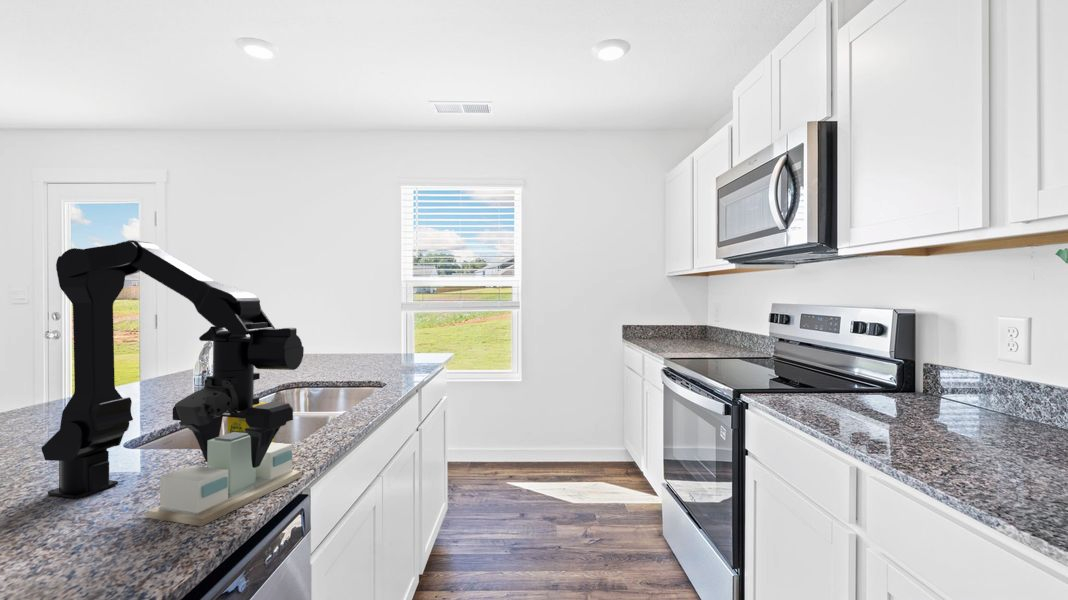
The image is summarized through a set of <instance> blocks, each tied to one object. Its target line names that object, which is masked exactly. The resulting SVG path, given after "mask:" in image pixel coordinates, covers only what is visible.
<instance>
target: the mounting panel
mask: <svg viewBox="0 0 1068 600" xmlns="http://www.w3.org/2000/svg"><path fill="white" fill-rule="evenodd" d="M302 477H303V470H298V469H293V471H292V472H290V473H288V474H286V475H284V476H282V477H279V478H277V479H275V480H273V481H271V482H269V483H267V484H264V485H262V486H260V487H258V488H256V489H254V490H252V491H250V492H247V493H245V494H243V495H241V496H239V497H237V498H235V499H232V500H230V501H228V502H226V503H224V504H222V505H220V506H218V507H215V508H213V509H211V510H209V511H207V512H205V513H203V514H200V515H198V516H192V515H185V514H178V513H172V512H165V511H158V508H159V507H160V505H157V506H155V507H153V508H150V509H148V510H147V511H146V518H147V519H153V520H159V521H160V520H161V521H168V522H173V523H178V524H186V525H191V526H192V525H193V526H199V527H203V526H205V525H208V524H210V523H211V522H214V521H215V520H218V519H220V518H222V517H223V516H225V515H228V514H230V513H231V512H233V511H235V510H237V509H239V508H242V507H243V506H245V505H246V506H247V504H250V503H252V502H253V501H256V500H258V499H259V498H262V497H264V496H265V495H268V494H270V493H271V492H274V491H275V490H278V489H280V488H281V487H283V486H286V485H288V484H290V483H292V482H294V481H296V480H298V479H300V478H302Z"/></svg>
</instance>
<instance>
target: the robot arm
mask: <svg viewBox="0 0 1068 600" xmlns="http://www.w3.org/2000/svg"><path fill="white" fill-rule="evenodd" d="M55 268H56V275H57V279H58V285H59V288H60V290H61V291H62V292H63V293H64V295H65V296H66V297H67V299H68V300H69V301H70V302H71V303H72V326H73V362H74V363H73V367H74V368H73V369H74V371H73V372H74V373H73V376H74V393H73V395H72V396H71V397H70V399H69V401H68V402H67V404H66V405H65V407H64V408H63V410H62V412H61V419H60V426H59V427H60V428H59V430H58V431H57V432H56V433H54V435H53V436H52V437H51V438H50V439H48V440H47V442H45V443H44V445H42V446H41V451H42V455H43V458H44V460H45V461H51V462H52V461H53V462H54V461H56V462H58V461H59V462H58V487H57V488H54V489H50V490H48V491H47V495H49V496H56V497H61V498H62V497H63V498H67V499H69V498H70V499H80V498H82V497H85V496H89V495H91V494H93V493H97V492H99V491H102V490H105V489H108V488H112V487H114V486H116V485H119V481H118V480H112V479H110V460H109V456H110V455H109V453H110V451H109V450H108V449H110V448H114V447H118V446H120V445H121V442H122V440H123V437H124V434H125V433H126V432H127V431H128V430H129V427H130V422H133V420H134V418H133V416H132V402H133V401H132V398H131V397H130V396H127V397H123V396H122V395H121V394H120V393H119V392H118V390H117V389H116V383H115V380H116V379H115V348H114V347H115V344H114V343H115V342H114V341H115V339H114V335H115V333H114V332H115V331H114V303H115V301H116V300H117V298H118V297H119V296H120V294H121V292H122V291H123V290H124V285H125V281H126V277H127V276H132V275H134V274H137V273H140V272H142V273H143V274H145V275H146V276H148V277H150V278H151V279H153V280H155V281H157V282H158V283H160V284H162V285H164V286H165V287H167V288H169V289H170V290H171V291H174V292H175V293H177V294H179V295H180V296H182V297H184V298H186V299H187V300H189V301H190V303H192V304H193V305H194V307H195V310H196V312H197V313H198V314H199V315H200V316H201V317H202V318H204V319H205V320H206V321H207V322H209V323H210V324H211V325H212V326H210V327H209V329H208V330H207V331H206V332H203V334H202V335H200V336H199V337H198V339H199V341H200V342H212V375H209V376H206V377H205V379H204V385H203V388H202V389H200V390H196V391H194V392H192V393H191V394H190V395H187V396H186V397H184V398H183V399H181V400H179V401H177V402H176V403H175V404H174V405H173V407H172V421H179V422H178V424H179V425H180V426H184V427H185V428H187V429H189V430H190V431H191V432H193V433H192V434H193V435H194V437H195V438H196V441H197V443H198V445H199V446H198V447H199V448H200V450H201V454H202V455H203V457H204V460H205V462H206V463H207V447H208V440H211V439H214V438H216V437H219V436H220V435H221V429H222V424H223V419H224V417H226V418H228V417H234V418H245V422H246V423H247V424H248V426H249V428H246V429H244V430H245V431H246V432H247V433H248V434H249V435H250V437H251V460H252V467H253V468H256V467H258V466H260V464H261V462H262V460H263V458H264V456H265V454H266V452H267V450H268V448H269V446H270V444H271V442H272V440H273V438H274V439H275V437H276V435H277V434H278V432H279V430H280V428H281V427H284V426H286V425H287V422H291V421H293V420H294V409H293V406H292V405H291V404H290V403H288V402H287V403H286V402H278V401H277V402H275V401H270V402H265V403H266V404H262V405H258V406H255V407H253V405H256V404H259V402H260V397H256V396H254V394H255V393H254V392H255V391H254V387H255V385H254V384H255V381H258V380H260V379H261V378H260V372H254V371H255V369H254V368H256V369H257V370H281V371H283V370H284V371H286V370H287V371H295V370H296V369H298V368H299V367H300V366H301V364H302V361H303V358H304V354H305V353H304V352H305V351H304V350H305V349H304V346H303V343H302V340H301V338H300V336H299V335H297V332H298V331H297V328H296V327H283V328H275V327H274V325H273V323H272V322H271V321H270V319H269V318H268V316H267V315H266V313H265V312H264V311H263V309H262V306H261V301H260V298H259V297H257V296H256V295H255V294H254V293H252V292H249V291H247V290H244V289H240V288H238V287H235V286H231V285H227V284H226V283H225V284H224V283H221V282H218V281H215V280H214V279H212V278H210V277H208V276H206V275H204V274H203V273H202V272H199V271H198V270H196V269H194V268H193V267H192V266H189V265H187V264H186V263H184V262H183V261H180V259H177V258H175V257H174V256H173V255H171V254H169V253H167V252H166V251H164V250H162V249H161V248H160V247H159V246H158V245H156V244H154V243H153V242H147V241H142V240H141V241H140V240H133V239H132V240H131V239H130V240H125V241H121V242H118V243H116V244H115V243H114V244H108V245H102V246H95V247H87V248H76V247H75V248H69V249H67V250H66V251H64V252H63V253H62V254H61V256H58V258H57V260H56V264H55ZM238 411H240V412H238Z"/></svg>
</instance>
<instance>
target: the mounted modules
mask: <svg viewBox="0 0 1068 600" xmlns="http://www.w3.org/2000/svg"><path fill="white" fill-rule="evenodd" d="M292 469H293V444H291V443H281V442H280V443H279V442H274V443H273V442H271V444H270V446H269V448H268V450H267V452H266V454H265V456H264V458H263V460H262V462H261V464H260V466H258V467H256V478H264V479H272V478H274V477H277V476H279V475H281V474H283V473H285V472H287V471H290V470H292ZM159 477H160V479H159V482H160V483H159V487H160V488H159V489H160V490H159V498H160V499H159V506H160V507H163V508H170V509H177V510H183V511H190V512H197V513H199V512H201V511H203V510H205V509H207V508H210V507H212V506H214V505H216V504H218V503H220V502H223V501H225V500H227V499H228V470H227V469H219V468H211V467H207V466H202V465H188V466H186V467H184V468H181V469H178V470H175V471H172V472H169V473H166V474H163V475H161V476H159Z"/></svg>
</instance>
